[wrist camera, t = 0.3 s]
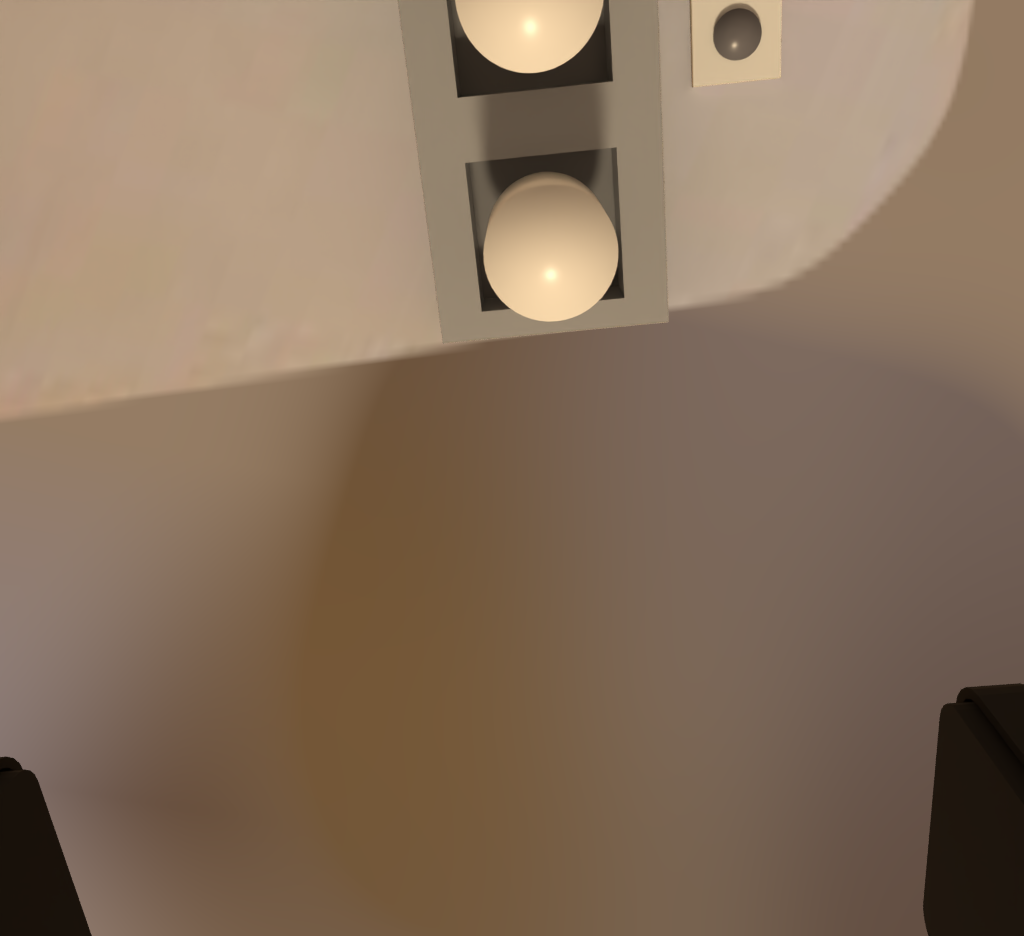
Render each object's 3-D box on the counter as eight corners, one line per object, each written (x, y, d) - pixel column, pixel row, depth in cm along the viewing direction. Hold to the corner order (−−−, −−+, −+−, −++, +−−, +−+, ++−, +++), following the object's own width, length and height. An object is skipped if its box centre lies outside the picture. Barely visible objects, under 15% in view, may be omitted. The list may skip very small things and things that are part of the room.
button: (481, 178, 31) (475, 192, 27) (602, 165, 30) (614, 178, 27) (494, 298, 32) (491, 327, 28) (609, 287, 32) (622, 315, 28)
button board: (360, -368, 28) (343, -417, 25) (629, -403, 27) (642, -456, 25) (448, 322, 36) (442, 343, 33) (656, 302, 35) (668, 322, 33)
